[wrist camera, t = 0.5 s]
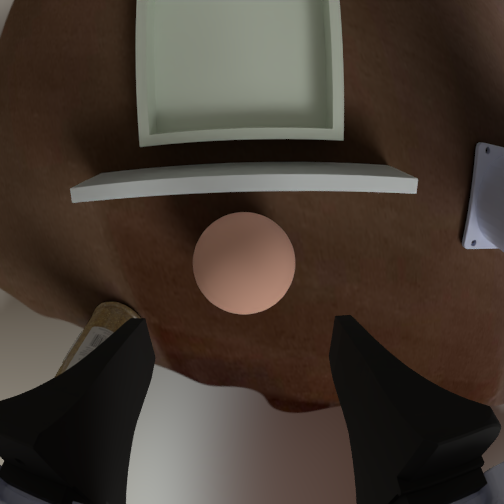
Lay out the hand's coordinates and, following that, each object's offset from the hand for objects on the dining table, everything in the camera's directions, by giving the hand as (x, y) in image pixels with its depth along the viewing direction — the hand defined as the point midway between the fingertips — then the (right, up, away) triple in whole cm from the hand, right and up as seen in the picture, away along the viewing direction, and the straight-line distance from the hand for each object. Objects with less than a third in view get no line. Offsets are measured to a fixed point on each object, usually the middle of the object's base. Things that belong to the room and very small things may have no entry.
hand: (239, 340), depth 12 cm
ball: (0, +3, +6) cm, 6 cm away
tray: (0, +15, +4) cm, 15 cm away
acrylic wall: (0, +8, +7) cm, 10 cm away
